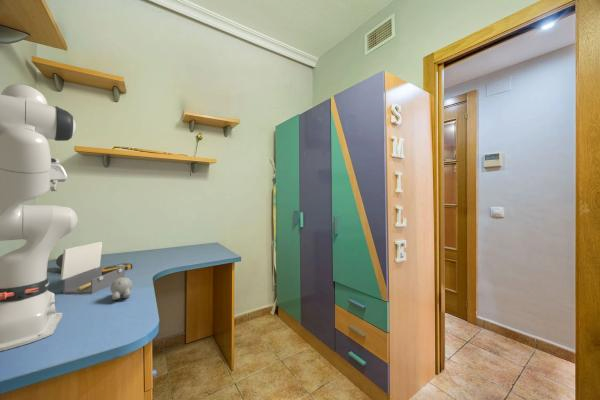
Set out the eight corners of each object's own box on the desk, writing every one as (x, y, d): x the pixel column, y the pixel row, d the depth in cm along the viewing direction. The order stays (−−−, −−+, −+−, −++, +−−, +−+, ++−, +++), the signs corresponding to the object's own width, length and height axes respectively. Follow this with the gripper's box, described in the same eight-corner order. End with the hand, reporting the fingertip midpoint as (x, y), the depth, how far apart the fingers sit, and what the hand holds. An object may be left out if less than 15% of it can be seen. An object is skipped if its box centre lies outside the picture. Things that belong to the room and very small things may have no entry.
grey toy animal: (131, 298, 103) (132, 278, 106) (132, 296, 95) (132, 274, 97) (110, 302, 99) (111, 281, 102) (109, 300, 90) (110, 277, 93)
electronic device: (93, 275, 128) (93, 269, 128) (124, 267, 142) (124, 262, 142) (101, 277, 124) (101, 271, 124) (132, 269, 139) (132, 263, 139)
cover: (65, 249, 101) (63, 249, 101) (62, 279, 101) (60, 279, 101) (102, 241, 121) (100, 241, 121) (99, 266, 121) (98, 266, 121)
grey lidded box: (94, 293, 101) (94, 279, 101) (63, 294, 101) (63, 280, 101) (126, 278, 121) (126, 267, 121) (100, 278, 121) (100, 267, 121)
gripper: (-9, 158, 90) (0, 191, 90) (63, 159, 108) (71, 187, 107) (-11, 164, 94) (-2, 197, 93) (60, 164, 111) (68, 192, 110)
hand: (38, 191), depth 100 cm, fingers open, 8 cm apart
